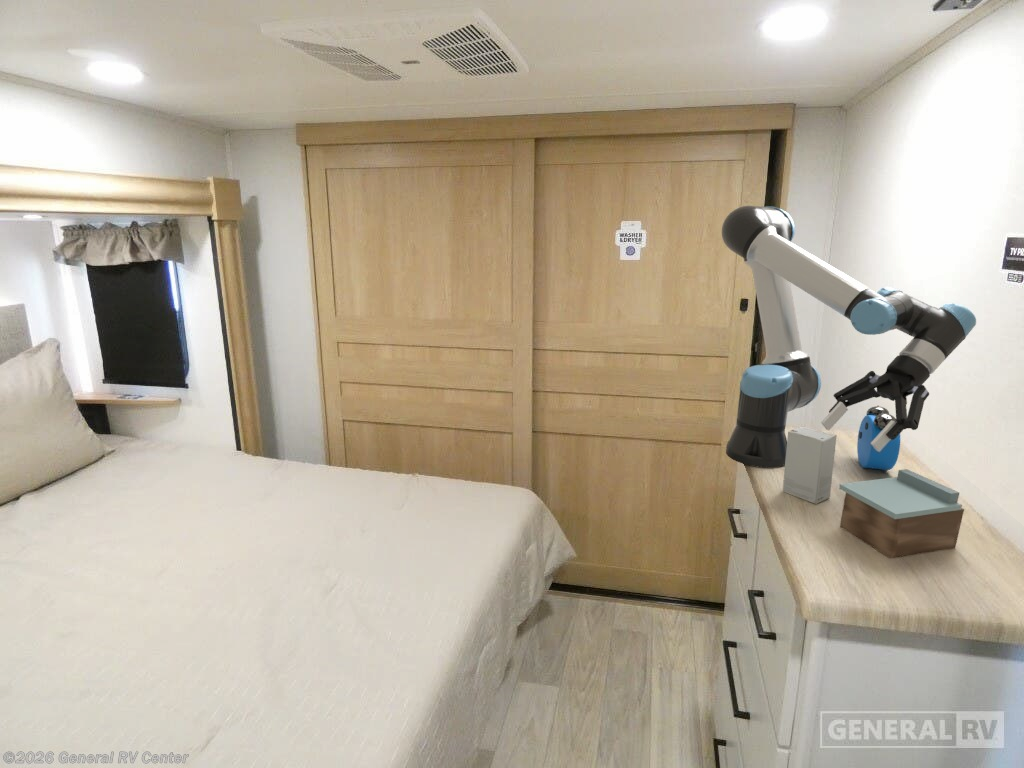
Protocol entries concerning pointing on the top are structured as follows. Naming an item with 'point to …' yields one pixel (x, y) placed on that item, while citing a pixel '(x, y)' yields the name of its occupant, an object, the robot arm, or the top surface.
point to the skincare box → (809, 464)
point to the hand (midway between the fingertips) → (848, 436)
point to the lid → (904, 495)
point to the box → (900, 529)
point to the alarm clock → (868, 432)
